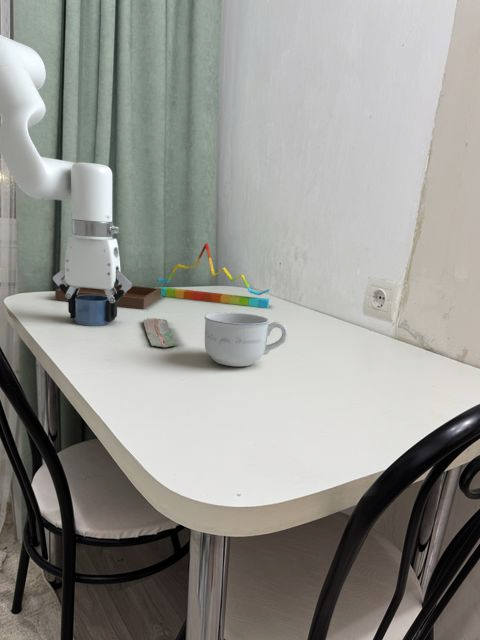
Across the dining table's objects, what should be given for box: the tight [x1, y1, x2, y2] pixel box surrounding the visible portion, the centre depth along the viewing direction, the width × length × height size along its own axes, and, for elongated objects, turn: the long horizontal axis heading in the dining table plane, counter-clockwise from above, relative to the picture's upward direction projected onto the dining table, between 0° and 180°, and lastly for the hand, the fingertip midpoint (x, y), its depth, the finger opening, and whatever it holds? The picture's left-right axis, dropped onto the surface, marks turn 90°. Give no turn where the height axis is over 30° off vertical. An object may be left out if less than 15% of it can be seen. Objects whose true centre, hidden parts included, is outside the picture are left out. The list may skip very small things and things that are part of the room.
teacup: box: [204, 311, 289, 367], centre depth 85 cm, size 14×11×8 cm
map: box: [143, 317, 179, 348], centre depth 99 cm, size 5×20×1 cm, turn 17°
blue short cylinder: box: [74, 295, 111, 327], centre depth 103 cm, size 7×7×5 cm
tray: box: [54, 284, 162, 310], centre depth 127 cm, size 21×15×2 cm
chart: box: [156, 242, 271, 309], centre depth 134 cm, size 30×3×15 cm, turn 82°
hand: (92, 318), depth 104 cm, fingers closed on blue short cylinder, 6 cm apart
